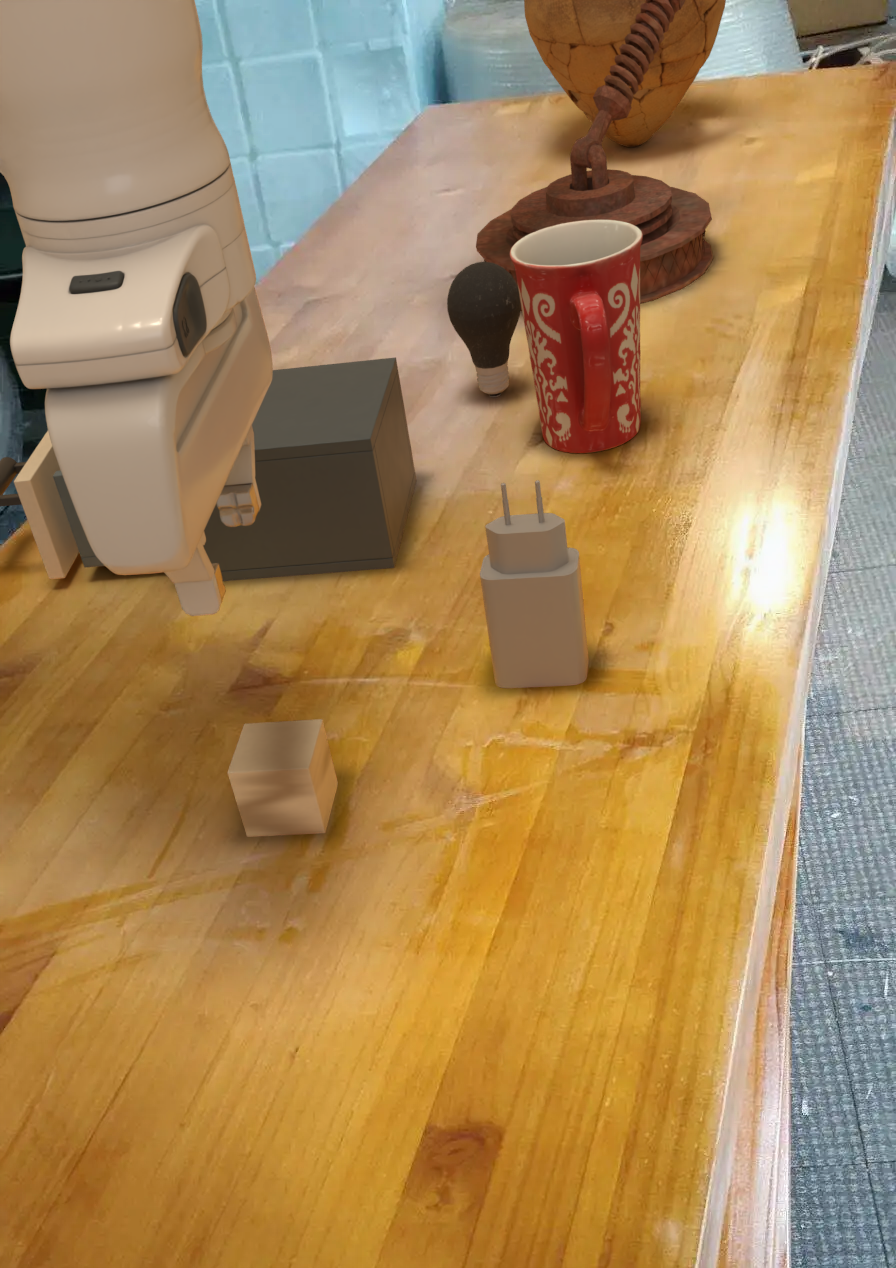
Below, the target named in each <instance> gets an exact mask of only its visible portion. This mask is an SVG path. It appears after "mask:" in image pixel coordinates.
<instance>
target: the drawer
mask: <svg viewBox="0 0 896 1268" xmlns="http://www.w3.org/2000/svg"><path fill="white" fill-rule="evenodd" d="M12 482H13V484H14V487H15V490H16V492H17V493H8V494H5V492H6V491H7V489H8V488H9V486H10V485H11V483H12ZM7 506H8V507H10V506H22V508H23V512H24V514H25V516H26V519H27V522H28V525H29V527H30V528H29V529H30V530H31V533H32V536H33V539H34V542H35V544H36V547H37V550H38V552H39V555H40V557H41V561H42V563H43V566H44V569H45V571H46V574H47V578H48V579H49V580H57V579H65V578H66V577H67V576H68V574H69V571H70V569H72V566H73V564H74V563H75V561H76V559H77V557H78V555H79V557H80V559H81V562H82V565H83V567H84V568H98V567H106V566H105V565H104V564H103V563H102V562H101V561H100V560H99V559H98V558H97V557H96V555H95V554H94V552H93V550H92V548H91V546H90V544H89V542H88V540H87V537H86V535H85V532H84V530H83V527H82V525H81V522H80V520H79V518H78V515H77V512H76V510H75V507H74V505H73V502H72V500H71V497H70V494H69V492H68V489H67V486H66V484H65V481H64V478H63V475H62V472H61V469H60V467H59V464H58V461H57V458H56V455H55V452H54V449H53V446H52V443H51V439H50V436H49V432H48V430H46V432H45V434H44V435H43V437H42V438H41V440H40V441H39V443H38V444H37V446H36V447H35V449H34V450H33V451H32V453H31V454H30V456H29V458H28V459H27V460H26V461H20V462H17V461H16V460H15V459H14V458H12V457H10V456H5V457H2V458H1V459H0V507H7Z"/></svg>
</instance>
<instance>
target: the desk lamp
mask: <svg viewBox="0 0 896 1268" xmlns="http://www.w3.org/2000/svg"><path fill="white" fill-rule="evenodd" d="M685 1H686V0H646V1H645V2H646V3H642V4H641V6H640V13H639V14H637V15H636V19H635V21H636V24H633V25H631V26H630V30H631V33H629V34H628V35H627V36H626V37H625V43H626V44H622V45H621V46H620V48H619V49H620V54H621V55H617V56H615V63H616V65H612V66H610V73H611V75H607V76H606V77H605V79H604V81H605V85H603V86H601V87H598V88H597V90H596V92H595V94H594V96H593V99H594V102H595V105H596V107H597V109H598V111H599V112H598V114H597V116H596V118H595V120H594V122H593V124H592V123H591V126H590V128H589V130H588V132H587V134H586V135H585V136H582V137H580V138H577V139H576V140H575V142H574V143H573V145H572V147H571V150H570V153H569V160H570V162H569V163H570V174H567V175H565V176H562V177H560V178H559V177H558V178H557V179H556V180H554V181H552V182H550V183H549V184H548V185H547V186H546V187H543V188H540V189H537V190H535V191H533V192H531V193H529V194H528V195H526V196H524V197H522V198H520V199H519V200H518V201H517V202H516V203H515V204H514V205H513V207H512V208H511V209H508V210H506V211H505V212H503V213H501V214H499V215H498V216H496V217H495V218H493V219H491V220H489V222H487V224H485V226H484V227H482V229H480V230H479V232H478V233H477V235H476V243H475V249H476V252H477V253H478V254H479V255H480V256H481V257H482V259H483V262H491V263H495V264H497V265H499V266H501V267H503V268H504V269H505V270H506V271H508V272H509V273H510V274H511V276H512V277H513V278H514V280H515V281H516V283H517V277H516V271H515V266H514V264H513V262H512V260H511V258H510V250H511V248H512V246H513V245H514V244H515V243H516V242H517V241H519V240H520V239H521V238H523V237H525V236H527V235H529V234H531V233H533V232H536V231H538V230H541V229H544V228H547V227H551V226H555V225H559V224H563V223H569V222H576V221H584V220H615V221H622V222H626V223H630V224H632V225H634V226H636V227H638V228H639V229H640V230H641V232H642V234H643V238H642V243H641V247H640V305H641V304H645V303H649V302H653V301H655V300H658V299H660V298H664V297H666V296H668V295H670V294H672V293H675V292H678V291H680V290H682V289H684V288H685V287H687V286H689V285H690V284H692V283H693V282H694V281H696V280H697V279H699V278H701V277H702V276H703V275H704V274H705V273H706V271H707V269H708V268H709V267H710V265H711V264H712V262H713V260H714V257H713V252H712V247H711V245H710V243H709V242H707V241H706V229H707V228H708V226H709V225H710V223H711V221H712V220H713V216H712V212H711V206H710V203H709V202H708V201H707V200H705V199H704V198H703V197H701V196H700V195H698V194H697V193H695V192H692V191H688V190H686V189H685V190H684V189H681V188H677V187H675V186H670V185H668V184H667V183H666V182H665V181H663V180H661V179H658V178H654V177H650V176H647V175H638V174H637V175H636V174H631V173H630V172H628V171H623V170H619V169H611V168H608V163H607V162H608V161H607V159H608V158H607V155H606V152H605V150H604V148H603V141H604V139H605V137H606V136H605V134H606V132H607V130H608V128H609V126H610V124H611V122H612V121H614V120H621V119H624V118H627V116H628V114H629V112H630V110H631V104H632V100H633V95H634V94H636V93H637V92H638V90H639V89H638V85H640V84H641V83H642V82H643V80H644V78H643V75H645V74H646V72H647V71H648V67H649V64H650V63H651V62H652V61H653V60H654V54H655V53H656V52H657V51H658V50H659V43H661V42H662V41H663V40H664V33H665V32H667V31H668V30H669V25H670V23H671V22H673V19H674V15H675V13H676V12H677V11H678V10H680V9H681V8H682V6H683V4H684V3H685ZM645 55H646V57H645ZM640 66H641V67H640ZM634 76H635V77H636V78H635V77H634ZM629 86H631V88H630V87H629ZM625 96H626V97H625ZM587 169H591V170H587ZM517 286H518V283H517ZM520 312H522V308H521V311H520Z"/></svg>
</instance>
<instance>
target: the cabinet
mask: <svg viewBox="0 0 896 1268" xmlns="http://www.w3.org/2000/svg"><path fill="white" fill-rule="evenodd" d="M398 368H399V367H398V362H397V357H385V358H376V359H367V360H357V361H348V362H347V361H346V362H338V363H329V364H319V365H309V366H300V367H299V366H298V367H290V368H289V367H288V368H281V369H273V378H272V382H271V384H270V386H269V388H268V391H267V393H266V395H265V397H264V399H263V402H262V404H261V406H260V408H259V410H258V413H257V415H256V417H255V419H254V421H253V424H252V428H253V432H254V445H255V480H256V484H257V488H258V492H259V496H260V501H261V508H260V511H259V513H258V515H257V517H256V520H255V522H254V523H253V524H252V525H249V526H243V525H239V526H237V527H228V526H226V525H225V524H224V523H223V522H222V521H221V518H220V512H219V509H218V507H217V503H216V505H215V508H214V510H213V512H212V514H211V516H210V519H209V521H208V523H207V525H206V527H205V530H204V533H205V536H206V542H205V545H203V547H204V549H205V551H206V553H207V555H208V558H209V560H210V562H211V564H212V563H219V566H220V570H221V574H222V580H223V582H232V581H233V582H234V581H246V580H259V579H268V578H269V579H272V578H282V577H283V578H284V577H294V576H295V577H296V576H307V575H308V576H309V575H321V574H322V575H323V574H334V573H336V574H337V573H347V572H348V573H349V572H360V571H373V570H384V569H385V570H386V569H394V568H396V563H397V559H398V556H399V551H400V549H401V548H400V547H401V544H402V540H403V535H404V532H405V528H406V523H407V521H408V520H407V519H408V516H409V512H410V508H411V504H412V501H413V496H414V493H415V488H416V485H417V476H416V475H417V474H416V470H415V469H416V468H415V463H414V456H413V452H412V451H413V450H412V445H411V439H410V434H409V433H410V432H409V427H408V421H407V415H406V408H405V403H404V397H403V390H402V385H401V379H400V374H399V373H400V372H399V369H398Z"/></svg>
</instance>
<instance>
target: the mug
mask: <svg viewBox="0 0 896 1268" xmlns="http://www.w3.org/2000/svg"><path fill="white" fill-rule="evenodd" d="M642 238H643V234H642V232H641V230H640V229H639V228H638V227H636V226H634V225H632V224H630V223H626V222H622V221H615V220H584V221H576V222H569V223H563V224H559V225H555V226H551V227H547V228H544V229H541V230H538V231H536V232H533V233H531V234H529V235H527V236H525V237H523V238H521V239H520V240H519V241H517V242H516V243H515V244H514V245H513V246H512V248H511V250H510V258H511V260H512V262H513V264H514V266H515V271H516V277H517V283H518V289H519V296H520V302H521V308H522V311H521V312H522V317H523V318H522V319H523V325H524V330H525V337H526V342H527V347H528V352H529V360H530V364H531V365H530V366H531V372H532V378H533V384H534V385H533V386H534V390H535V391H534V392H535V397H536V402H537V408H538V414H539V421H540V429H541V433H542V434H541V435H542V438H543V441H544V442H545V443H546V445H548V446H550V447H551V449H552V448H553V449H554V450H557V451H560V452H565V453H570V454H588V453H589V454H590V453H596V452H601V451H602V452H603V451H606V450H610V449H614V448H616V447H619V446H622V445H624V444H625V443H627V442H629V441H630V440H632V439H634V437H635V436H637V434H638V433H639V431H640V429H641V422H642V421H641V420H642V419H641V418H642V416H641V414H642V413H641V412H642V411H641V408H642V400H641V304H640V247H641V243H642Z"/></svg>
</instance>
